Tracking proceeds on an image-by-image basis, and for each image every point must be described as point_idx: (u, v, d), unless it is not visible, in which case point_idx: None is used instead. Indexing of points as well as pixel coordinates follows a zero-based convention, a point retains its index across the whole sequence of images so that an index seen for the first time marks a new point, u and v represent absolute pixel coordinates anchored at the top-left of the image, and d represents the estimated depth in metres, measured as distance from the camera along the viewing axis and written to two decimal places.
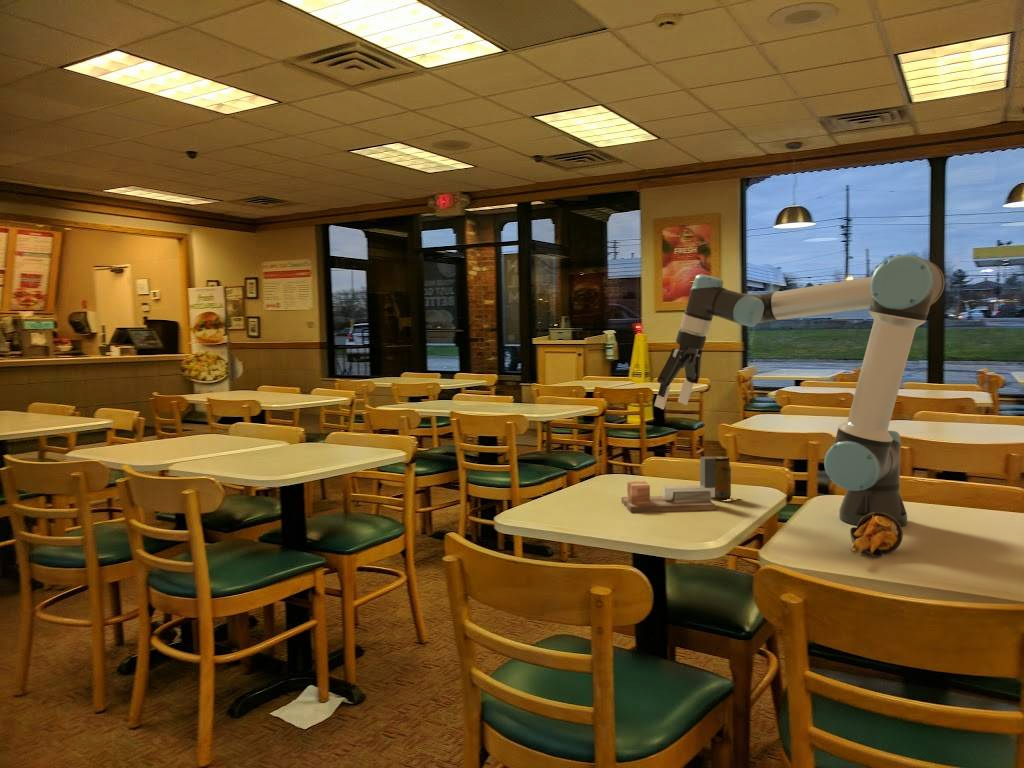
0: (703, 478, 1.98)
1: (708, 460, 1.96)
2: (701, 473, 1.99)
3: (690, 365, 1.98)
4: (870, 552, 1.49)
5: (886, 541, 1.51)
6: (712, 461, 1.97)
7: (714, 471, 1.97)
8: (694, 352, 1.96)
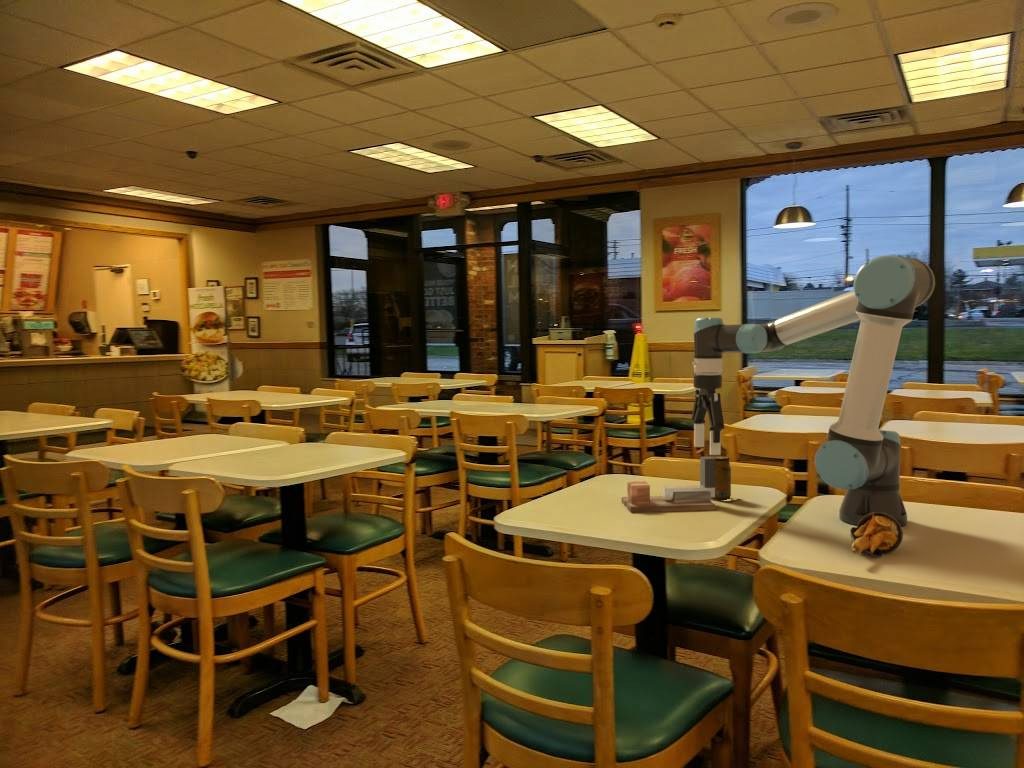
0: (703, 478, 1.98)
1: (708, 460, 1.96)
2: (701, 473, 1.99)
3: None
4: (870, 552, 1.49)
5: (886, 541, 1.51)
6: (712, 461, 1.97)
7: (714, 471, 1.97)
8: None
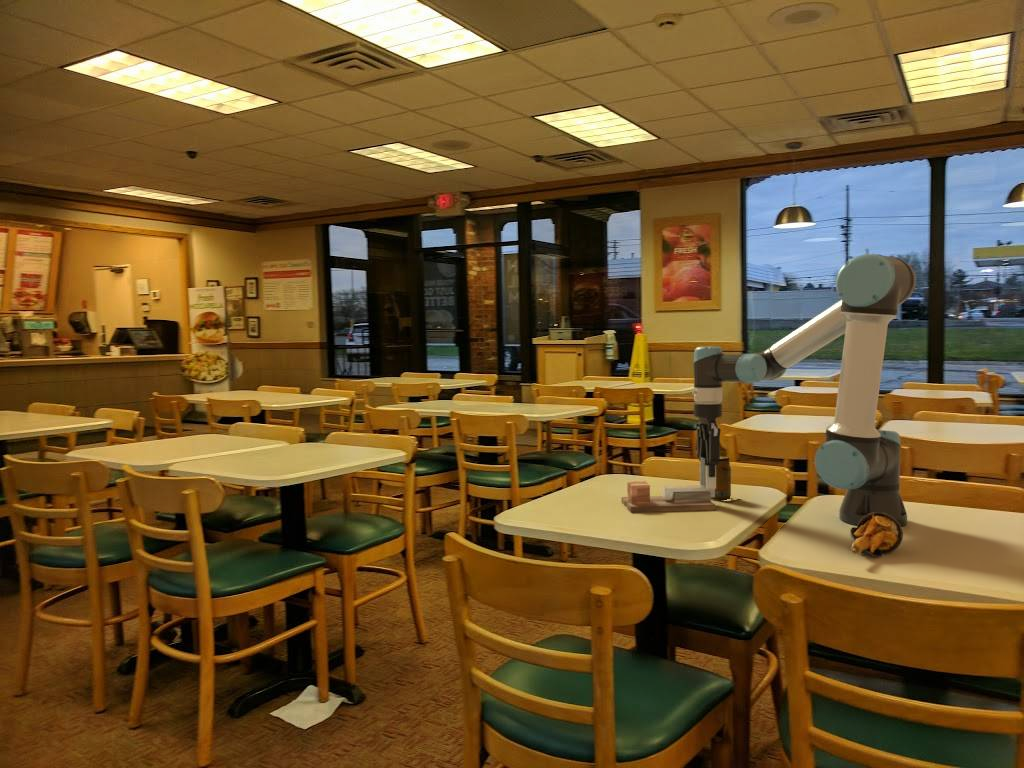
0: (703, 478, 1.98)
1: None
2: (701, 473, 1.99)
3: None
4: (870, 552, 1.49)
5: (886, 541, 1.51)
6: None
7: None
8: None
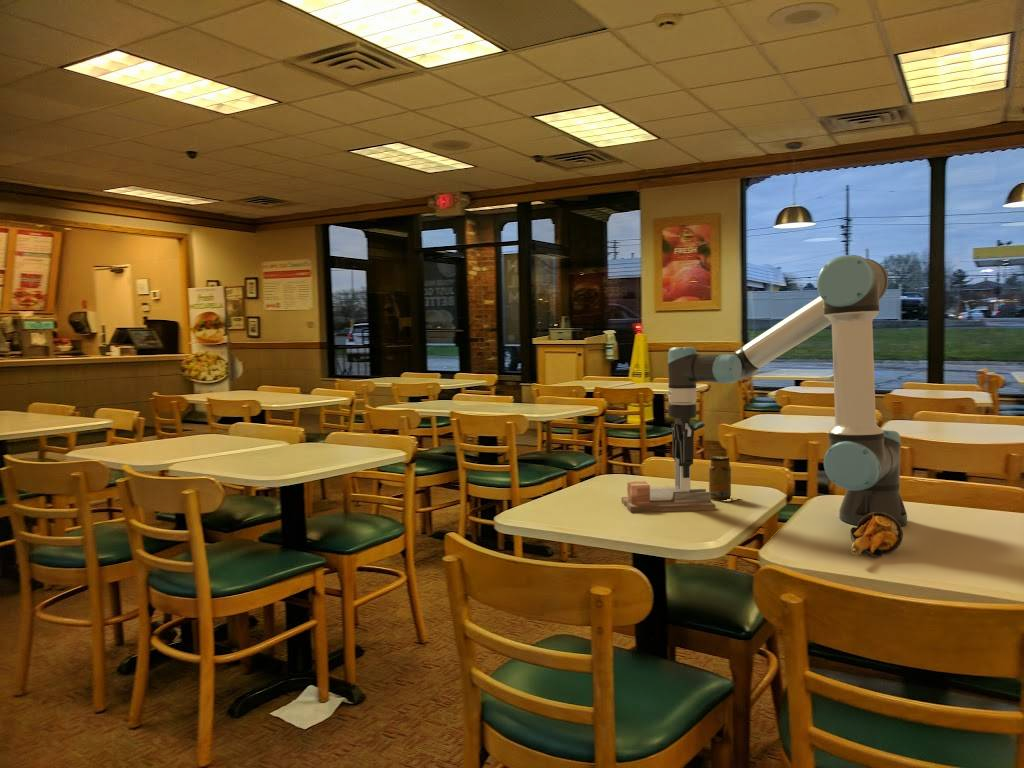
0: (678, 479, 1.98)
1: None
2: (676, 473, 1.99)
3: None
4: (870, 552, 1.49)
5: (886, 541, 1.51)
6: None
7: None
8: None
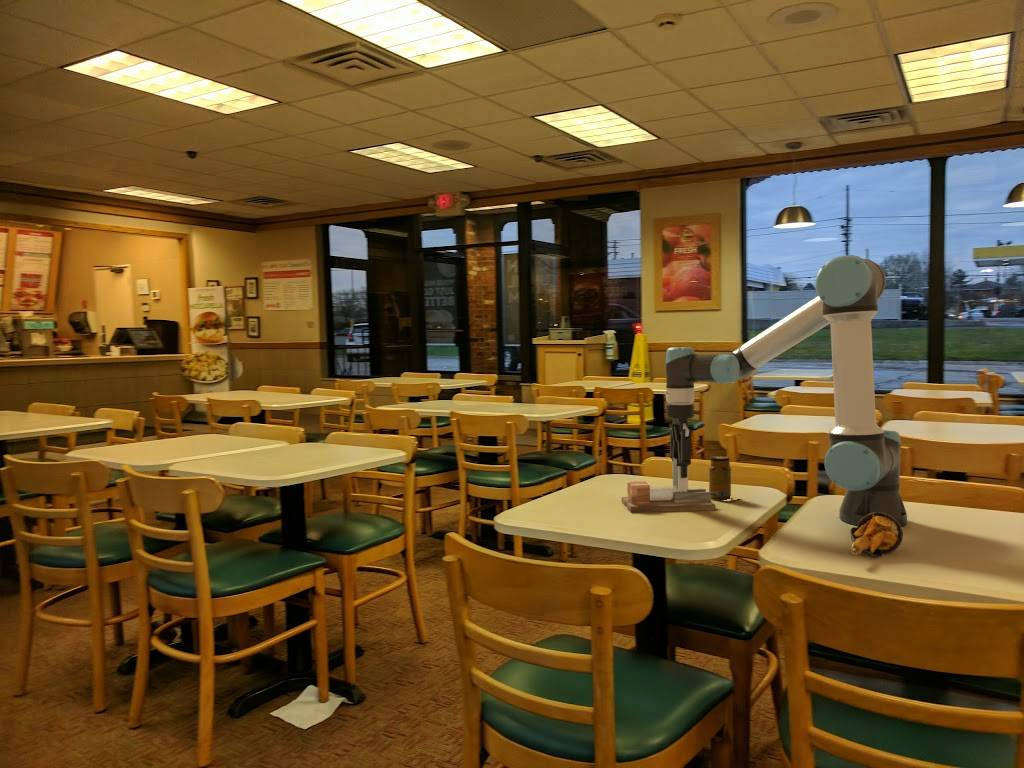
0: (675, 479, 1.97)
1: None
2: (674, 474, 1.99)
3: None
4: (870, 552, 1.49)
5: (886, 541, 1.51)
6: None
7: None
8: None
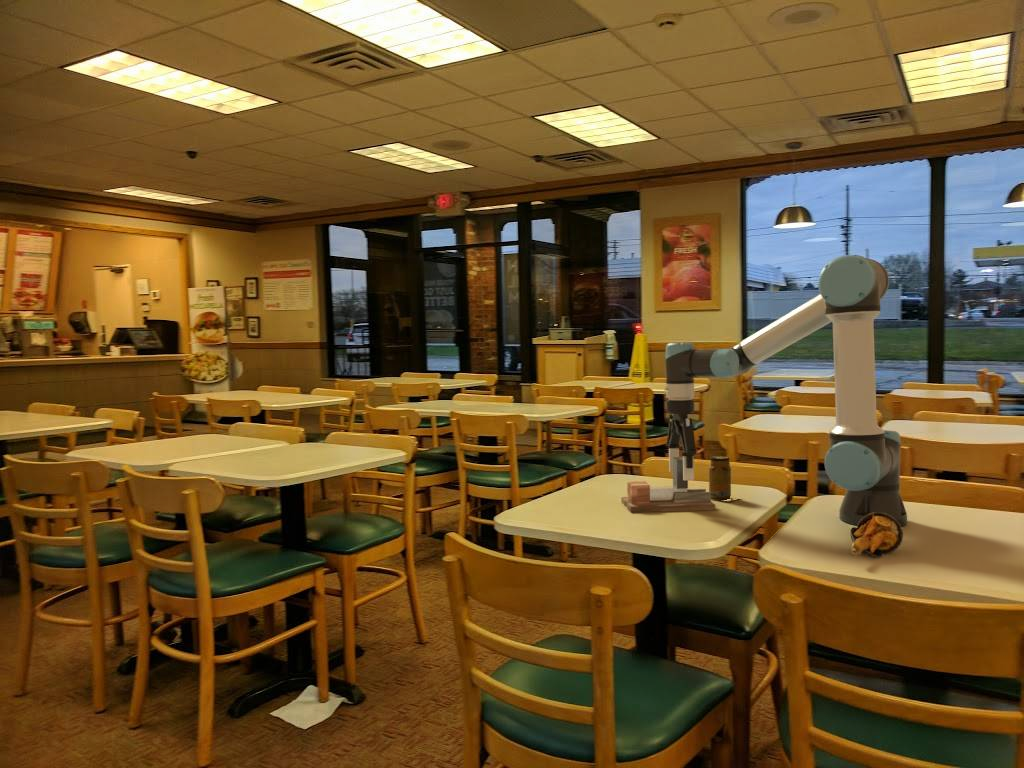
0: (675, 479, 1.97)
1: (680, 461, 1.96)
2: (674, 474, 1.99)
3: None
4: (870, 552, 1.49)
5: (886, 541, 1.51)
6: None
7: None
8: None
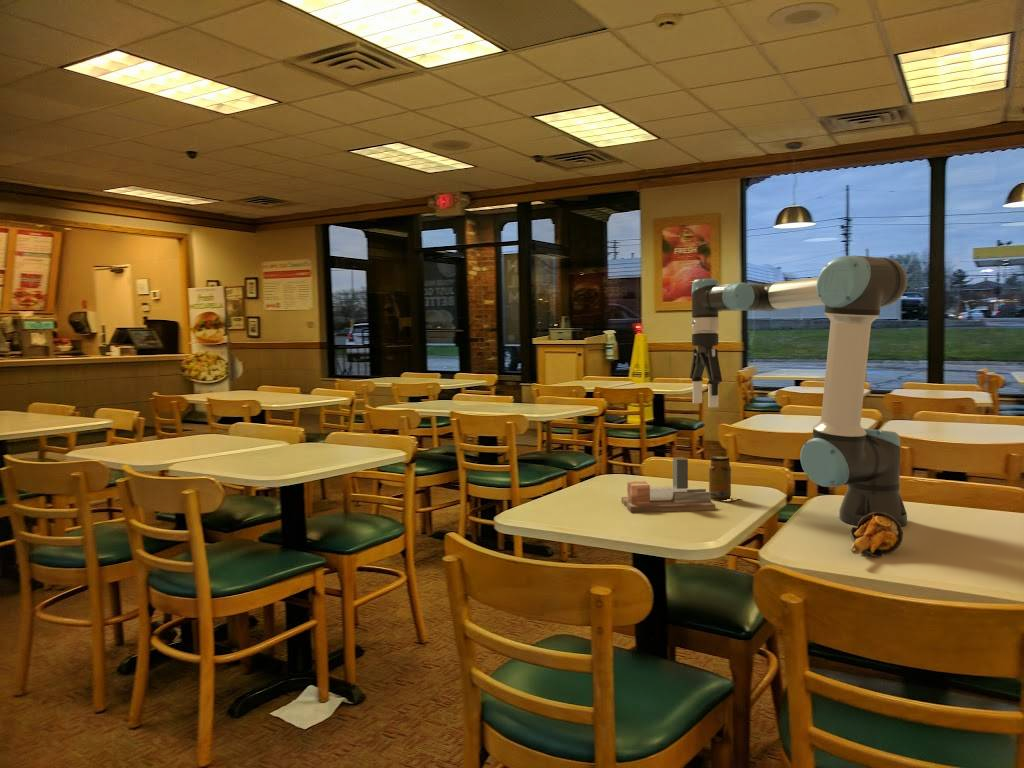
0: (675, 479, 1.97)
1: (680, 461, 1.96)
2: (674, 474, 1.99)
3: None
4: (870, 552, 1.49)
5: (886, 541, 1.51)
6: (684, 462, 1.96)
7: (686, 472, 1.96)
8: None
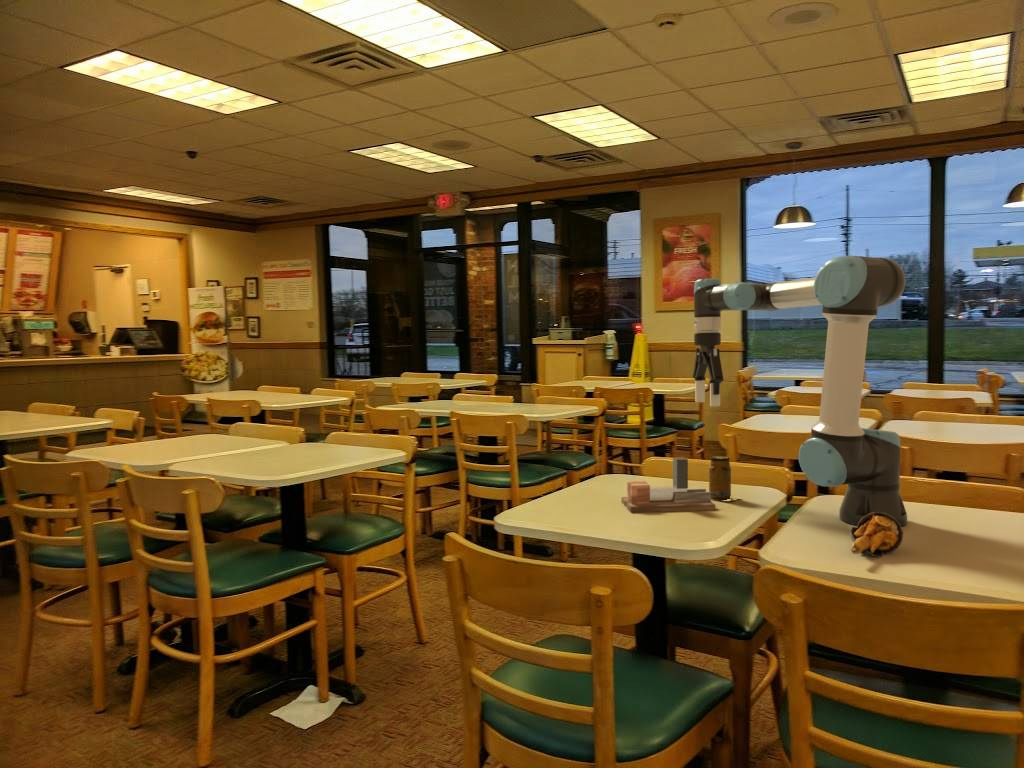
0: (675, 479, 1.97)
1: (680, 461, 1.96)
2: (674, 474, 1.99)
3: None
4: (870, 552, 1.49)
5: (886, 541, 1.51)
6: (684, 462, 1.96)
7: (686, 472, 1.96)
8: None
